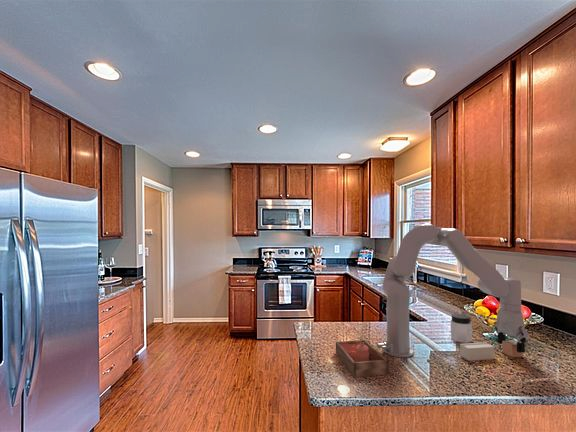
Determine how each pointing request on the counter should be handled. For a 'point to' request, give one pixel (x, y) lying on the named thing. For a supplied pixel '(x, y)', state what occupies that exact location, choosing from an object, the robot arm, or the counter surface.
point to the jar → (461, 328)
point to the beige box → (477, 351)
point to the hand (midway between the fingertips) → (510, 347)
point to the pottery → (357, 351)
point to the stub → (511, 349)
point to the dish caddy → (367, 367)
